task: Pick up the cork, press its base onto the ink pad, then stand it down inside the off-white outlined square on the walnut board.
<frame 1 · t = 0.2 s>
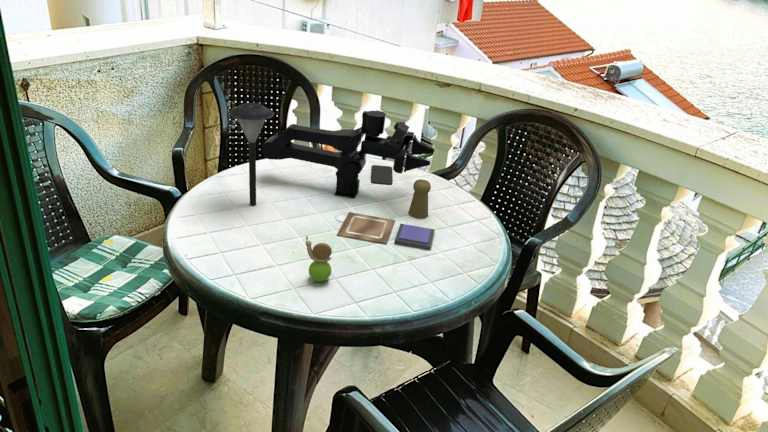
hand: (432, 157, 172), 17 cm above the table, tool horizontal, fingers open, 9 cm apart
cork: (418, 214, 175), on the table
marked board: (366, 228, 164), on the table
solar garden light: (253, 205, 170), on the table
ink pad: (414, 238, 162), on the table
phone: (381, 176, 198), on the table
snail figurine: (317, 280, 140), on the table
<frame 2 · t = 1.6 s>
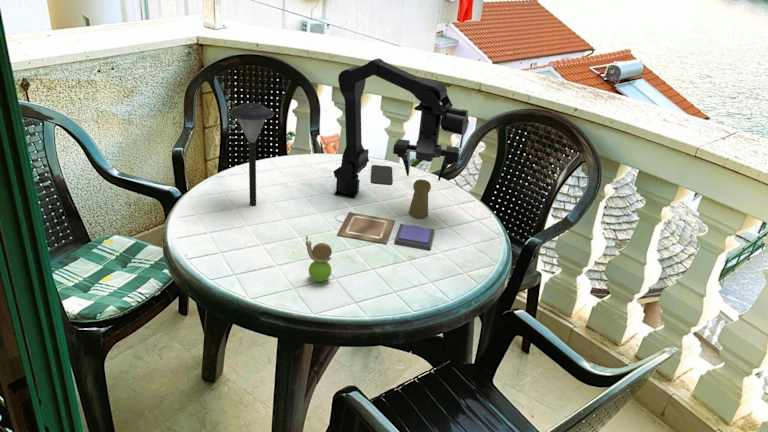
hand: (423, 177, 169), 12 cm above the table, tool pointing down, fingers open, 9 cm apart
nothing on the table moved.
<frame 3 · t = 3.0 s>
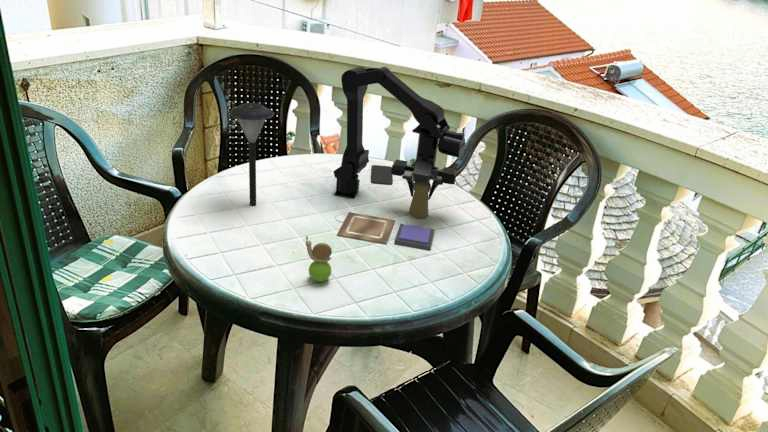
hand: (420, 197, 172), 6 cm above the table, tool pointing down, fingers closed on cork, 5 cm apart
cork: (418, 214, 175), on the table, touching gripper
everything else where it was.
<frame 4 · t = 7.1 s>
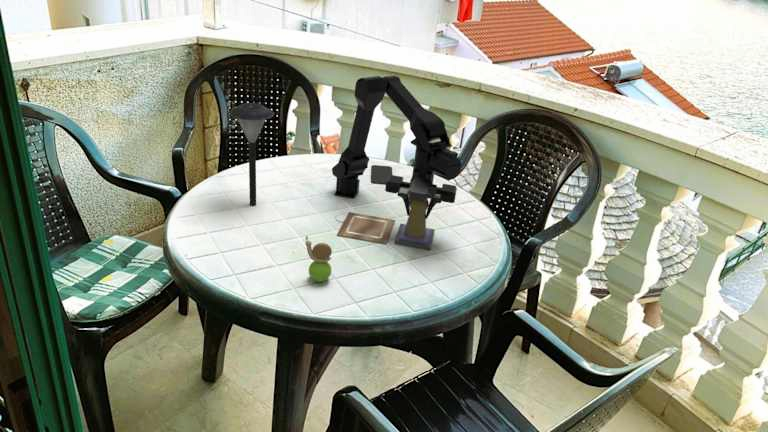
hand: (417, 216, 159), 7 cm above the table, tool pointing down, fingers closed on cork, 5 cm apart
cork: (415, 233, 161), point 2 cm above the table, touching gripper, ink pad
everything else where it was.
when the fingers open (7 cm above the table, at t = 11.1 s): cork drops 1 cm, resting on marked board.
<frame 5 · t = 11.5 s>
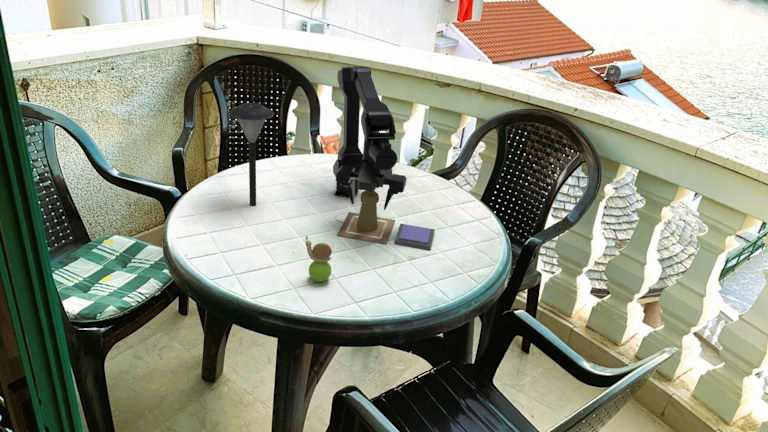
hand: (368, 206, 161), 7 cm above the table, tool pointing down, fingers open, 9 cm apart
cork: (366, 227, 164), resting on marked board
everything else where it was.
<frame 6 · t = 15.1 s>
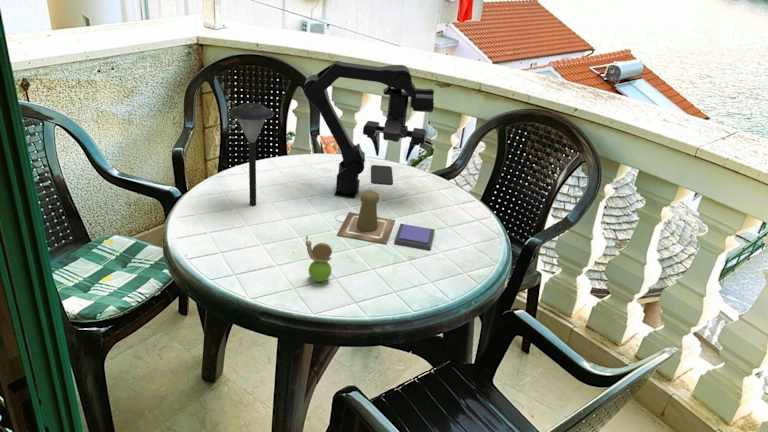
hand: (392, 158, 178), 13 cm above the table, tool pointing down, fingers open, 9 cm apart
nothing on the table moved.
at the end: cork 0.1 cm off-centre on the marked board, point 0.2 cm above the marked board's base; cork tilted 0°; the gripper is holding nothing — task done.
